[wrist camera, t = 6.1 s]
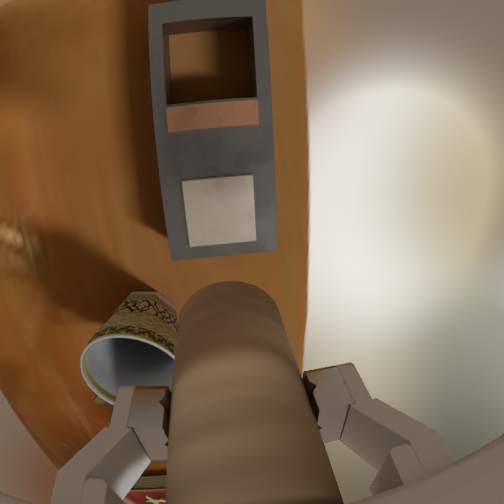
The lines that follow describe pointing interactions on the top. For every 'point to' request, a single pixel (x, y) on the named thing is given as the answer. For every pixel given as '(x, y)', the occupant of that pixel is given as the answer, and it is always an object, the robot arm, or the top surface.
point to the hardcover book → (148, 490)
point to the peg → (241, 407)
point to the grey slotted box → (214, 139)
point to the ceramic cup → (132, 347)
